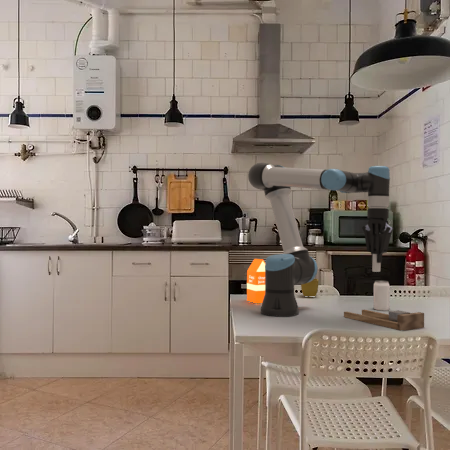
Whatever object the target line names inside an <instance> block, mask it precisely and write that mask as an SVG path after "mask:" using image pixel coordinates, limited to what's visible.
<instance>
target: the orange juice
mask: <svg viewBox="0 0 450 450" xmlns="http://www.w3.org/2000/svg"><path fill="white" fill-rule="evenodd" d="M265 263H266V261H264V259H260V258H254V259H253V260H252V262H251V264H250V265H249V267H248V269H247V271H246V302H247V301H250V302H253V303H262V302H263V299H264V296H265ZM250 302H249V303H250ZM253 303H252V304H253Z"/></svg>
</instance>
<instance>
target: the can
mask: <svg viewBox="0 0 450 450" xmlns="http://www.w3.org/2000/svg"><path fill="white" fill-rule="evenodd" d="M390 290H391V287H390V283H389V281H388V280H375V281H374V283H373V309H374V311H383V312H385V311H387V312H389V311H390V307H391V305H390V303H391V301H390V299H391V298H390V297H391V294H390V293H391V292H390Z"/></svg>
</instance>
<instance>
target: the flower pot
mask: <svg viewBox="0 0 450 450" xmlns="http://www.w3.org/2000/svg"><path fill="white" fill-rule="evenodd" d="M319 281H320V280H319V279H318V278H314V279H313V280H312V281H311V282H308V283H306V284H300V289H301V293H302V295H303V297H304V296H315V297H316V296H317V294H318V290H319Z"/></svg>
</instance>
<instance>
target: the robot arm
mask: <svg viewBox="0 0 450 450" xmlns="http://www.w3.org/2000/svg"><path fill="white" fill-rule="evenodd" d="M390 173H391V172H390V168H389V167H388V166H385V165H373V166H369V167H368V170H367V172H351V171H345V170H341V169H337V168H328V169H326V168H325V169H324V168H306V167H305V168H301V167H285V166H283V165H281V164H272V163H267V162H257V163H255V164H253V165H252V166H251V167H250V168H249V170H248V173H247V178H248V182H249V184H250V185H251V186H252V187H253V188H254V189H257V190H262V191H263V192H264V196H265V198H266V199H267V200H269V201H270V205H271V210H272V213H273V216H274V222H275V224H276V227H277V232H278V235H279V239H280V243H281V247H282V250H283V253H280V254H271V255H269V256H267V257H266V258H265V296H264V299H263V302H262V304H261V305H260V314H261V315H264V316H265V315H266V316H269V317H270V316H271V317H292V316H297V315H299V311H300V308H299V306H298V302H297V299H296V296H295V286H297V285H301V284H306V283H308V282H311V281H312V280H313V279H316V276H317V274H318V263H317V261H316V259H314V258H313V257H312V256H310V253H309V250H308V248H306V247H304V245H303V242H302V238H301V233H300V231H299V227H298V224H297V223H298V222H297V220H296V217H295V213H294V209H293V205H292V202H291V198H290V194H291V192H292V189H291V188H303V189H313V190H314V189H315V190H326V191H339V192H340V193H342V194H352V193H353V194H354V193H367V207H368V209H367V215H366V216H367V219H368V221H367V224H365V226H364V225H363V226H362V227H361V228H362V230H363V233H364V240H365V246H366V251H367V252H369V253H370V254H371V256H370V257H371V260H370V261H371V263H372V264H371V265H372V267H371V268H372V269H371V271H372V272H374V273H375V272H376V273H377V272H378V273H379V272H381V269H382V268H381V265H382V262H383V254H386V253H387V252H388V249H389V244H390V241H391V236H392V233H393V231H394V229H395V228H394V227H393V226H390V225H389V221H388V219H389V216H390V213H389V212H390V210H389V206H390V186H391V185H390V181H391V177H390V175H391V174H390Z"/></svg>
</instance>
